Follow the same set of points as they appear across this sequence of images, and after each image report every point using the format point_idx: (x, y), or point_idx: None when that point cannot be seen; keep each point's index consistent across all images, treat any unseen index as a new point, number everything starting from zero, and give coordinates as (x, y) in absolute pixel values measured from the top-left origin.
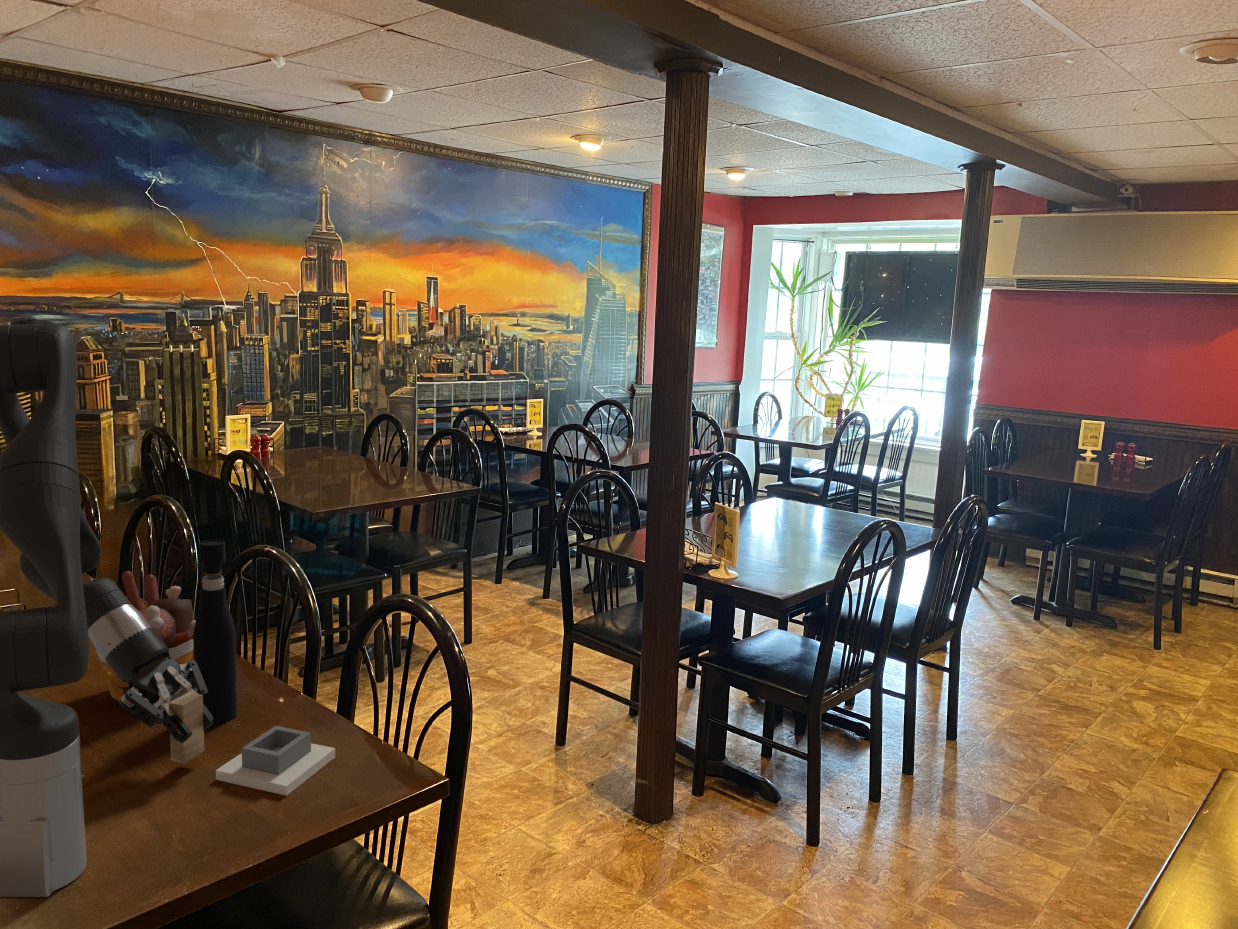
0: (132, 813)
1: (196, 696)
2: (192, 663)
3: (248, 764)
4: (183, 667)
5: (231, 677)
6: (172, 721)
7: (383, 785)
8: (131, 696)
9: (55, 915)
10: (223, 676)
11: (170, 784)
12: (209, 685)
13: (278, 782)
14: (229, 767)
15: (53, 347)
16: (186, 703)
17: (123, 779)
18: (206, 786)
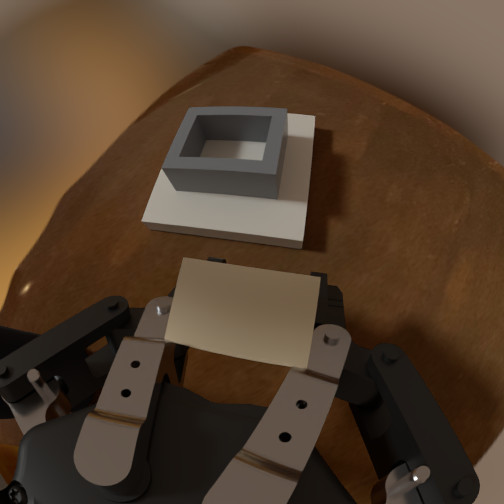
0: (439, 325)
1: (205, 274)
2: (4, 373)
3: (279, 180)
4: (30, 412)
5: (8, 329)
6: (339, 324)
7: (255, 65)
8: (468, 473)
9: None
10: (10, 340)
11: None
12: None
13: (309, 127)
14: (284, 221)
15: None
16: (293, 275)
17: (339, 430)
18: (328, 253)
